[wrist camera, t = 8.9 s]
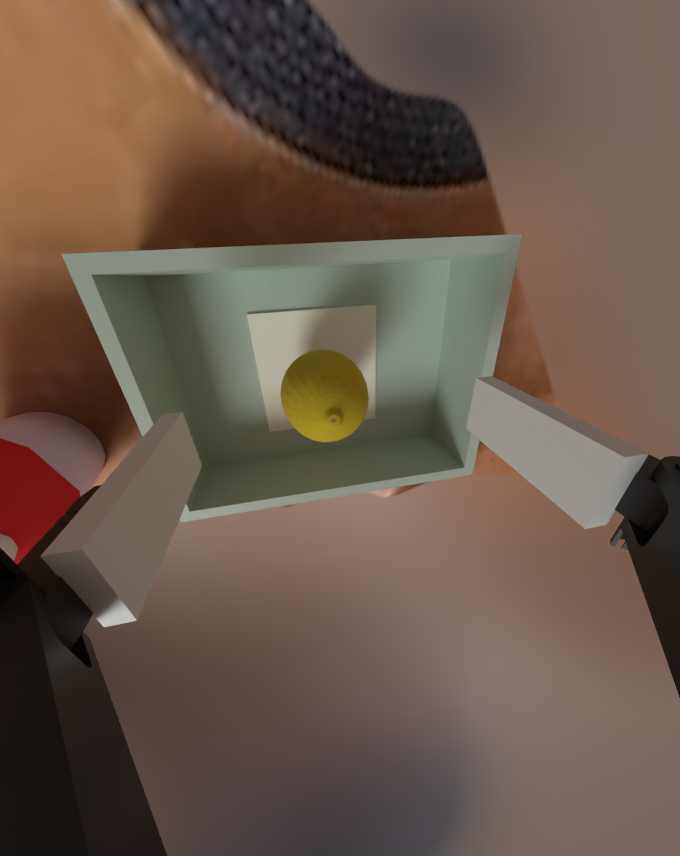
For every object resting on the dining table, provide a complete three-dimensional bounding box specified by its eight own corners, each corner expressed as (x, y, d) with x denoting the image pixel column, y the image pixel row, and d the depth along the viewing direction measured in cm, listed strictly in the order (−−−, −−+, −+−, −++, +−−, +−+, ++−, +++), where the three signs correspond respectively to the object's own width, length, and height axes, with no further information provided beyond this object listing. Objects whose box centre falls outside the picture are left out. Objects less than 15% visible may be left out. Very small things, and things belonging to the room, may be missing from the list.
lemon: (334, 326, 20) (361, 348, 13) (362, 390, 23) (398, 437, 16) (266, 361, 20) (257, 401, 13) (302, 420, 23) (311, 480, 16)
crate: (134, 263, 17) (61, 254, 12) (455, 247, 20) (522, 234, 14) (204, 467, 25) (180, 522, 19) (433, 434, 27) (472, 474, 22)
